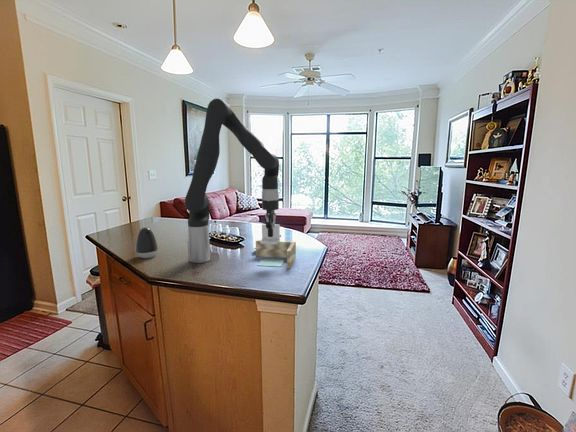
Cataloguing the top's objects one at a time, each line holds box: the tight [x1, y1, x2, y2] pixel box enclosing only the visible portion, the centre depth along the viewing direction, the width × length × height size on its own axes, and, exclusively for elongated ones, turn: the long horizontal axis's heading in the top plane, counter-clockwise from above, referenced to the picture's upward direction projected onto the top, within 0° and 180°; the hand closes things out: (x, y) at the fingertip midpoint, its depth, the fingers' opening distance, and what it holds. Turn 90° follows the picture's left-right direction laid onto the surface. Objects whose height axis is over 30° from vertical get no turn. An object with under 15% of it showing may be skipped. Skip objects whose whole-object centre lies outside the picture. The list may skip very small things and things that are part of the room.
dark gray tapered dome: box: [134, 226, 159, 259], centre depth 145 cm, size 10×10×15 cm
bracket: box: [260, 223, 281, 244], centre depth 132 cm, size 8×5×8 cm, turn 80°
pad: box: [257, 258, 285, 268], centre depth 136 cm, size 11×9×1 cm
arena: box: [255, 239, 297, 269], centre depth 137 cm, size 20×17×8 cm
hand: (270, 236), depth 134 cm, fingers closed on bracket, 1 cm apart
